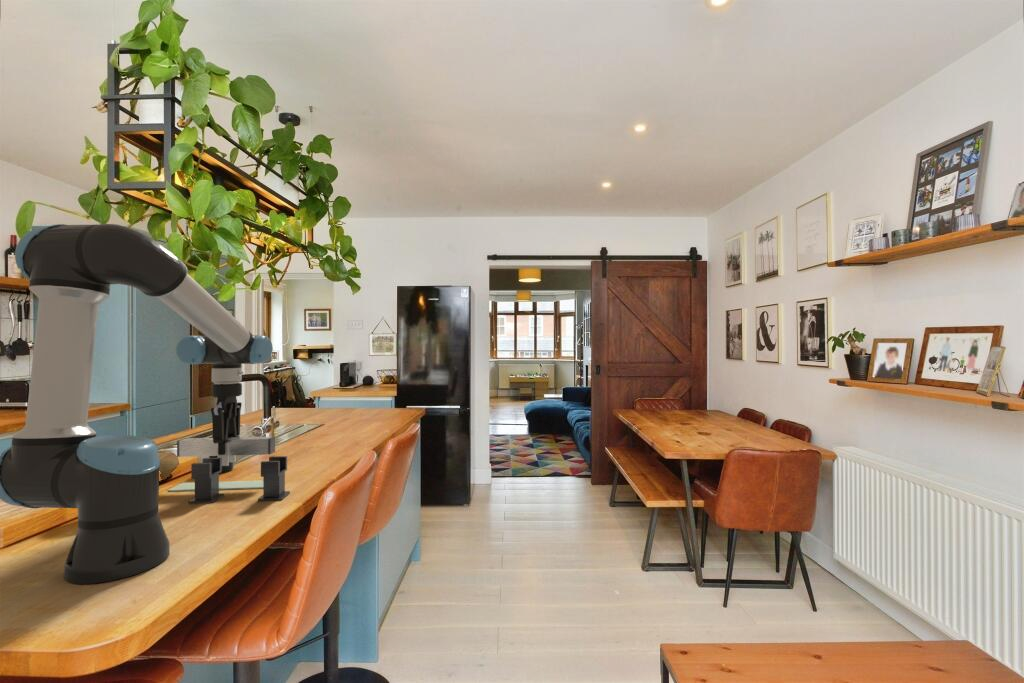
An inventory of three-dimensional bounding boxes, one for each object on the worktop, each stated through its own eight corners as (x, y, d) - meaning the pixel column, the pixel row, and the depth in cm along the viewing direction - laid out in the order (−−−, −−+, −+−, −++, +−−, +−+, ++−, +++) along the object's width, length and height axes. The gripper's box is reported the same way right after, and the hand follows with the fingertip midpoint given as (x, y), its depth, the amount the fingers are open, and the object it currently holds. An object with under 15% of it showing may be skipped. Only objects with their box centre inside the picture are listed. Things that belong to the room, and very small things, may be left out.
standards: (281, 500, 126) (281, 461, 126) (188, 503, 123) (188, 464, 123) (290, 493, 132) (290, 456, 132) (201, 496, 130) (201, 458, 130)
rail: (270, 454, 138) (270, 438, 138) (176, 456, 136) (177, 440, 136) (275, 451, 142) (275, 436, 142) (184, 453, 139) (184, 438, 139)
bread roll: (185, 471, 155) (185, 447, 155) (168, 484, 141) (168, 457, 141) (150, 474, 152) (150, 449, 152) (129, 487, 138) (129, 460, 138)
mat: (272, 488, 137) (272, 486, 137) (167, 491, 134) (167, 490, 134) (282, 481, 144) (282, 479, 144) (182, 484, 141) (182, 482, 141)
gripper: (226, 385, 131) (226, 470, 131) (253, 380, 147) (252, 456, 147) (197, 385, 130) (197, 471, 130) (227, 380, 147) (227, 457, 146)
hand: (226, 463), depth 139 cm, fingers closed on rail, 3 cm apart
